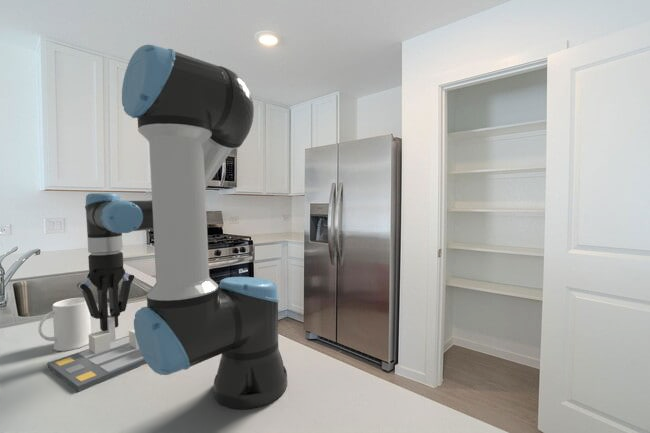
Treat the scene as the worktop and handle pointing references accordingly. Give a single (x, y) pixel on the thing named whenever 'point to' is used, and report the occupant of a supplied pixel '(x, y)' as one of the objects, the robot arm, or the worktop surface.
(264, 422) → the worktop surface
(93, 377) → the switch bank
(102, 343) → the off-white cube
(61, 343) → the mug
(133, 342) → the cream cube block
